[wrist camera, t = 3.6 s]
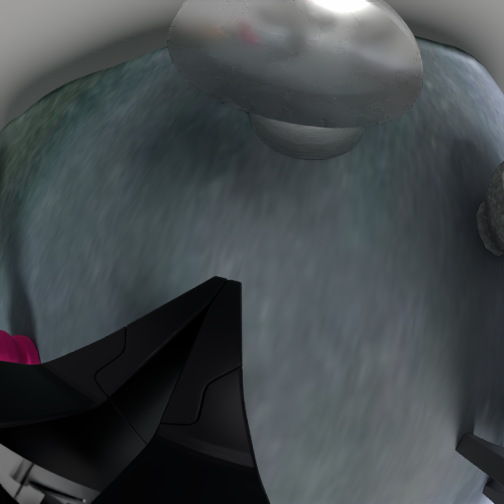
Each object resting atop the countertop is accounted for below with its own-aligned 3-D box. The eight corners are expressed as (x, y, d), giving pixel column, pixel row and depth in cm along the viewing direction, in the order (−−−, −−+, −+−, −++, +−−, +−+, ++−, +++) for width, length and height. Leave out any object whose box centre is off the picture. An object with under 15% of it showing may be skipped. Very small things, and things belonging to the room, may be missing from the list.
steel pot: (389, 179, 23) (416, 136, 16) (210, 146, 26) (189, 99, 19) (387, 96, 25) (402, 53, 18) (242, 72, 28) (232, 28, 21)
